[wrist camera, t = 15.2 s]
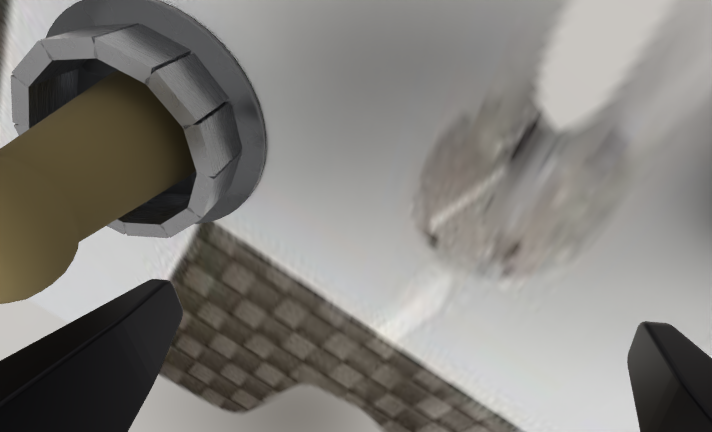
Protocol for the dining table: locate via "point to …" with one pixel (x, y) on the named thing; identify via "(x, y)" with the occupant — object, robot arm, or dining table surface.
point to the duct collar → (170, 85)
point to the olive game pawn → (82, 177)
